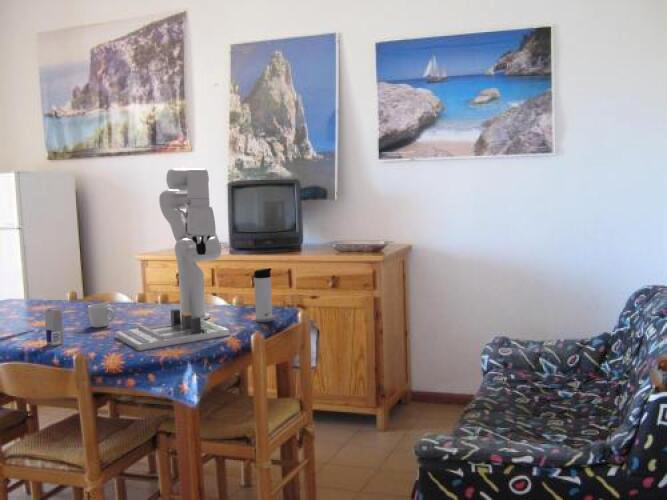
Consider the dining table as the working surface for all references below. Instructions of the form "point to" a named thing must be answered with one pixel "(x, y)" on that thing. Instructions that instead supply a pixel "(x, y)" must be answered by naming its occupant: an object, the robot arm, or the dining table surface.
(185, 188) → the robot arm
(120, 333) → the panel
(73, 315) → the dining table surface
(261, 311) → the travel mug
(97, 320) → the cup
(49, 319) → the energy drink
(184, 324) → the block
